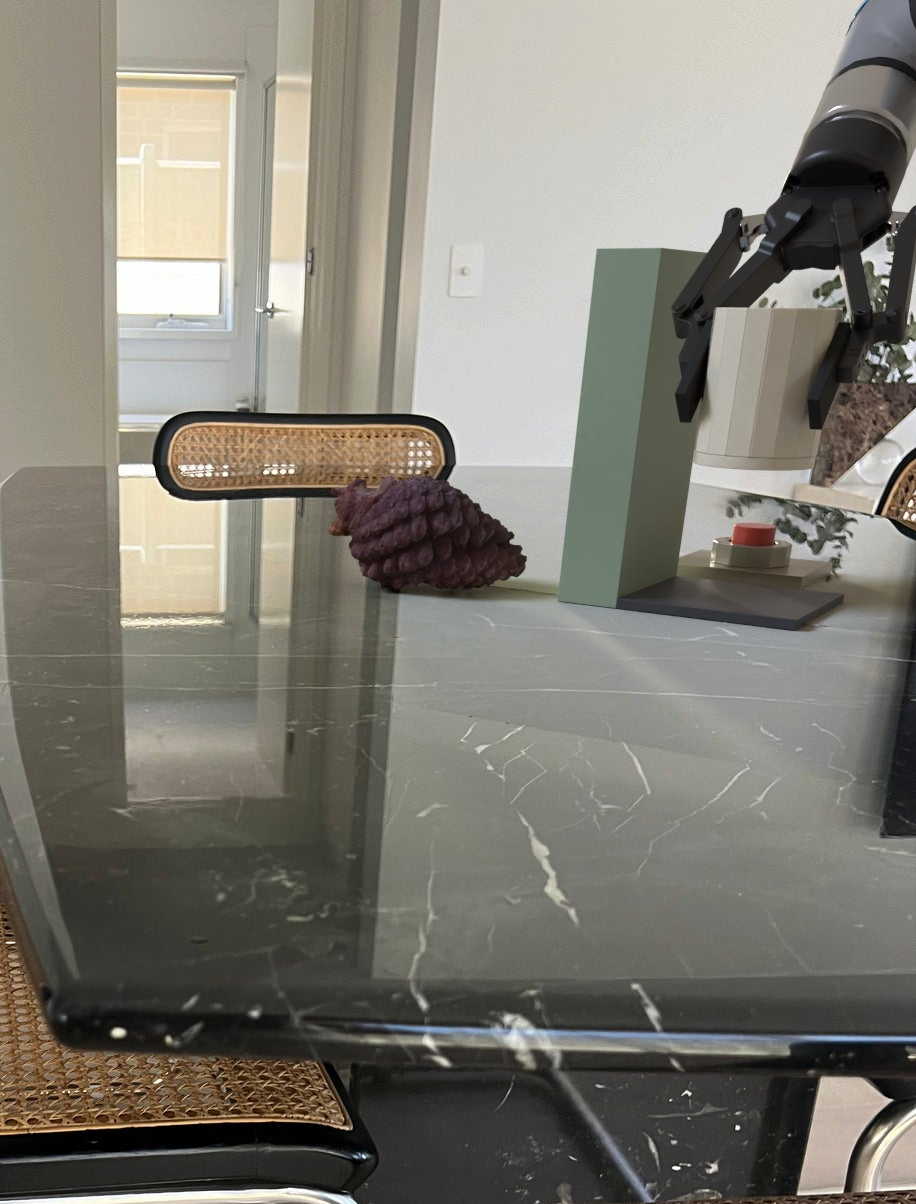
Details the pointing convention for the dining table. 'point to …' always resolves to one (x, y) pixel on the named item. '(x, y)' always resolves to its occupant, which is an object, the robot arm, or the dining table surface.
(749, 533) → the button
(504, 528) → the pine cone
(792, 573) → the block
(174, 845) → the dining table surface
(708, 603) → the coffee machine
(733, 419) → the cup
